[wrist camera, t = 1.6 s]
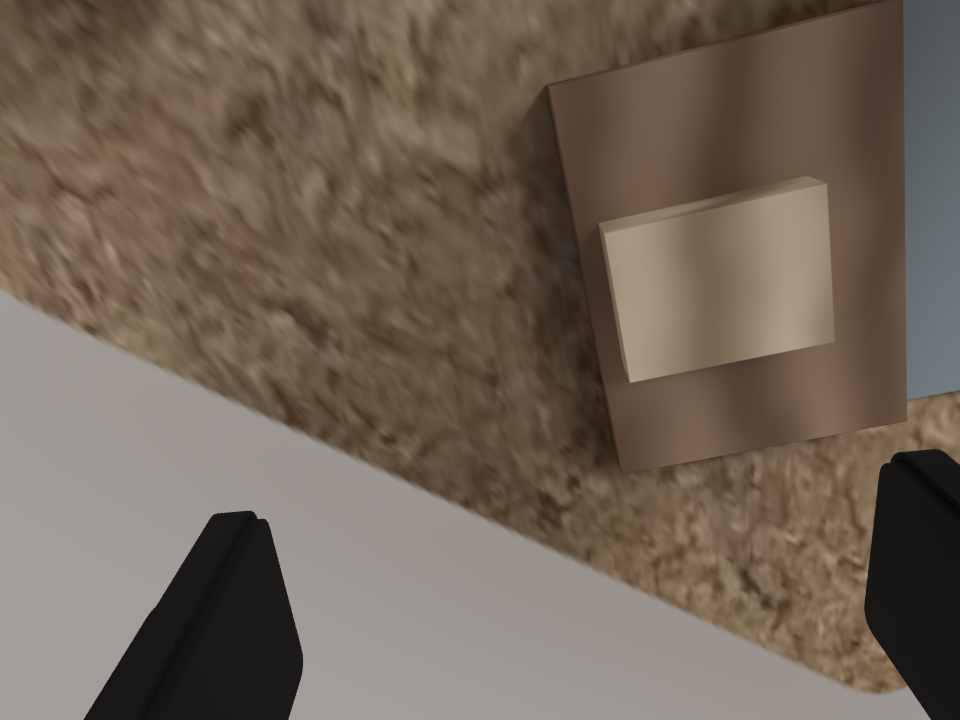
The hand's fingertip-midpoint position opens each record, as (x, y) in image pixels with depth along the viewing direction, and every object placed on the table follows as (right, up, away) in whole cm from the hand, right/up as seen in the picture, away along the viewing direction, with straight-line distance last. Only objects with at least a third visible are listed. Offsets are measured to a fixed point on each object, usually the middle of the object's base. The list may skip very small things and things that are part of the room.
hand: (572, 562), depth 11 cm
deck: (+10, +8, +24) cm, 27 cm away
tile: (+9, +7, +21) cm, 24 cm away
